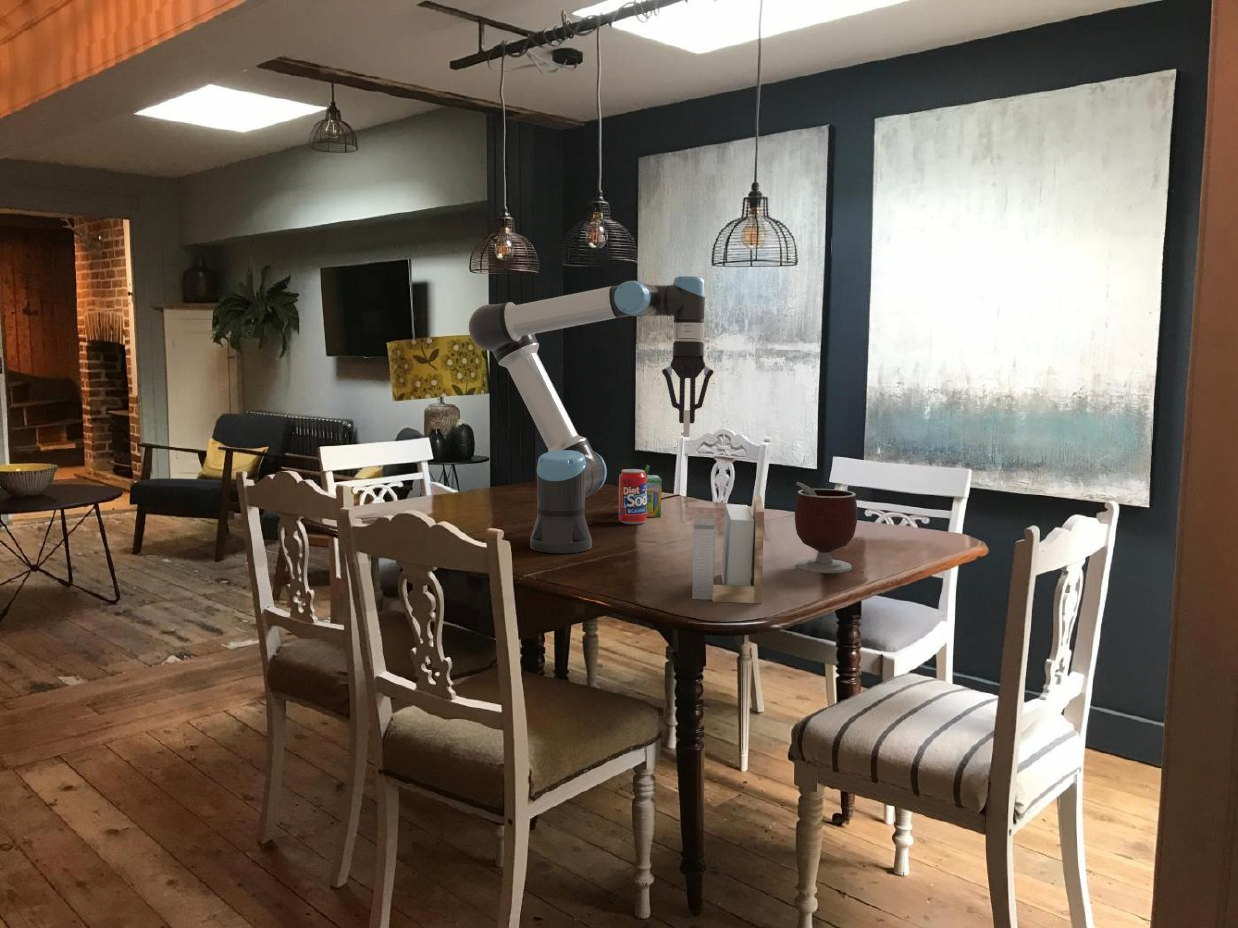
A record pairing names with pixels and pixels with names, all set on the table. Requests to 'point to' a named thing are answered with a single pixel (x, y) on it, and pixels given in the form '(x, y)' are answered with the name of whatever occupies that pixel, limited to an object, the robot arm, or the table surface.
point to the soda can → (632, 496)
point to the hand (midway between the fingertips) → (686, 436)
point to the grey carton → (703, 558)
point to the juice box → (653, 494)
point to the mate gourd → (825, 526)
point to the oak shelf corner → (755, 591)
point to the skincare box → (737, 545)
